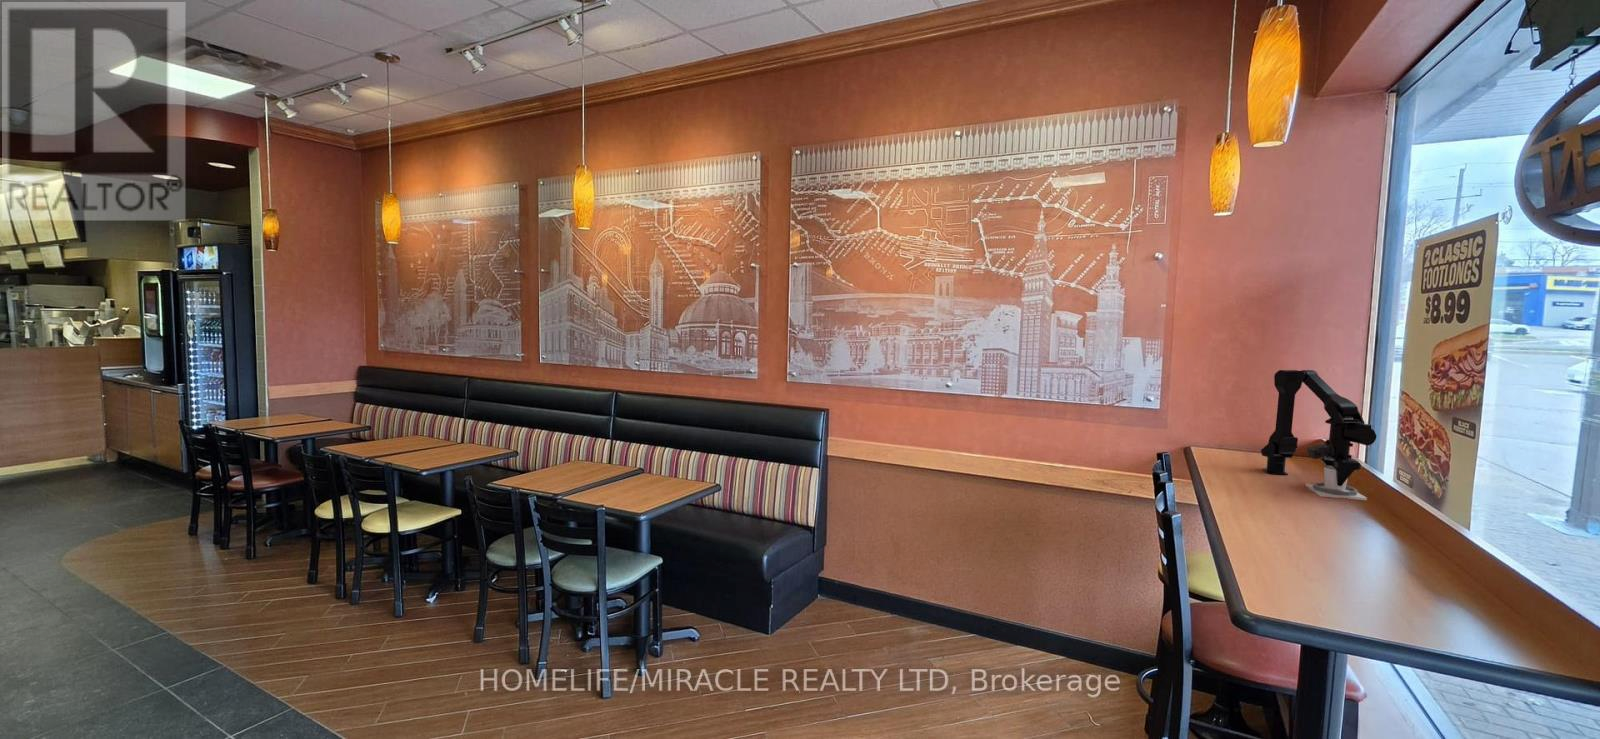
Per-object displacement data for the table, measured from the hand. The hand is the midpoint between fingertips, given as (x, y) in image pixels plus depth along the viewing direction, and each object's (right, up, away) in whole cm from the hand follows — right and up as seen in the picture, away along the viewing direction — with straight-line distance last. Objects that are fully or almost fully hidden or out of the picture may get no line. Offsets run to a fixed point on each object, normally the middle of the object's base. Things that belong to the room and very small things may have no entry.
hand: (1335, 483), depth 226 cm
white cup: (0, -2, 0) cm, 2 cm away
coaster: (0, -3, 0) cm, 3 cm away
